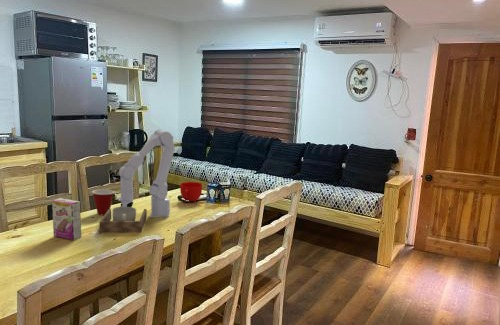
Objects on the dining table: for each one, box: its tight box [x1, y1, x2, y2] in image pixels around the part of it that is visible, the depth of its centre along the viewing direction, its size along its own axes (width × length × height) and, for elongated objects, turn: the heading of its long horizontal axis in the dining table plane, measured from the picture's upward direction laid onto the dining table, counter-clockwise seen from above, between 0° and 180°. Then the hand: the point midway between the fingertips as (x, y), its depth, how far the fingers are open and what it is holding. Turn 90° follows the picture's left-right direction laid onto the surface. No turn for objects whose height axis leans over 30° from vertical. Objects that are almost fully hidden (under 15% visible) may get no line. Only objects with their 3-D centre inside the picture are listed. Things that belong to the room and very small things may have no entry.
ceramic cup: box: [179, 181, 203, 202], centre depth 229 cm, size 13×17×10 cm
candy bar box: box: [51, 197, 82, 241], centre depth 168 cm, size 11×5×16 cm, turn 71°
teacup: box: [112, 206, 137, 221], centre depth 185 cm, size 14×11×8 cm
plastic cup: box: [91, 189, 115, 216], centre depth 202 cm, size 11×11×12 cm
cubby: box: [98, 208, 148, 234], centre depth 186 cm, size 18×19×5 cm
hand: (127, 217), depth 194 cm, fingers closed
